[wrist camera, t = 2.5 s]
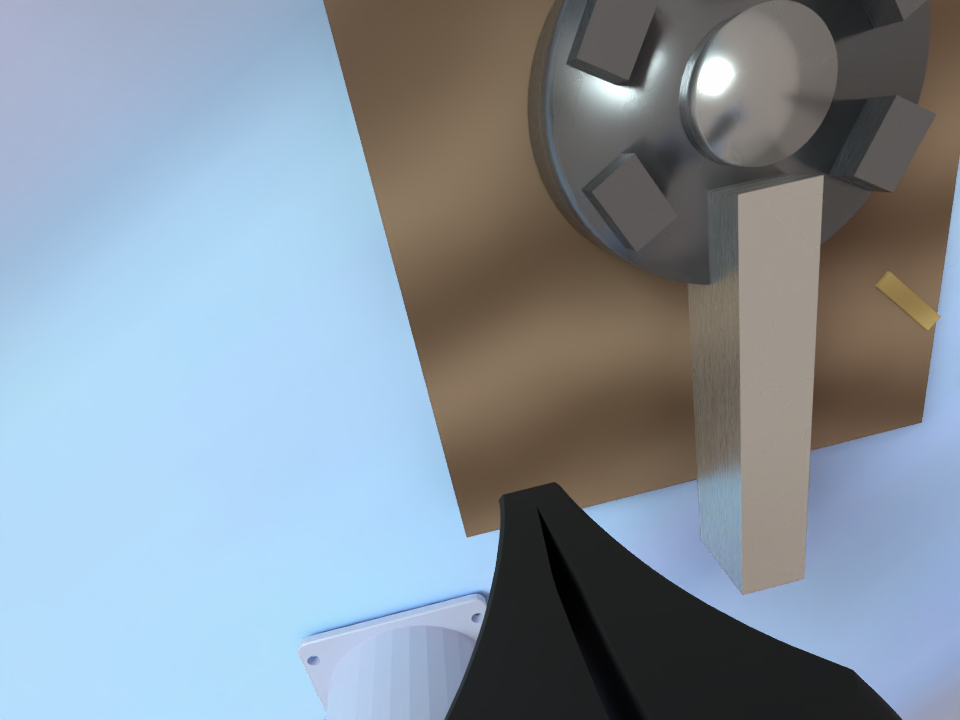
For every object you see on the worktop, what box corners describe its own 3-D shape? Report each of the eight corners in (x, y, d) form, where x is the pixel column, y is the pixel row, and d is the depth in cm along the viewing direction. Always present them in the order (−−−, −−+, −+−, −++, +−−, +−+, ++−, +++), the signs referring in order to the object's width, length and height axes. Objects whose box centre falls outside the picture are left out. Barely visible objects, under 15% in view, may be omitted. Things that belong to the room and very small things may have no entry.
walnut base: (889, 404, 22) (925, 423, 20) (462, 512, 21) (466, 539, 19) (950, -131, 15) (1009, -162, 14) (326, -3, 14) (317, -22, 13)
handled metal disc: (499, -61, 13) (538, -153, 9) (848, -132, 13) (1028, -247, 9) (589, 534, 20) (632, 624, 16) (815, 476, 20) (910, 550, 16)
